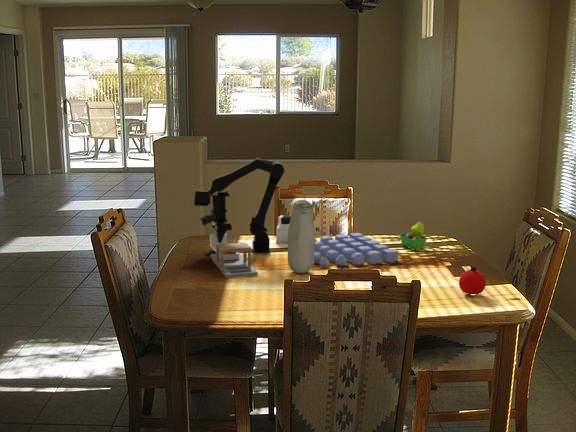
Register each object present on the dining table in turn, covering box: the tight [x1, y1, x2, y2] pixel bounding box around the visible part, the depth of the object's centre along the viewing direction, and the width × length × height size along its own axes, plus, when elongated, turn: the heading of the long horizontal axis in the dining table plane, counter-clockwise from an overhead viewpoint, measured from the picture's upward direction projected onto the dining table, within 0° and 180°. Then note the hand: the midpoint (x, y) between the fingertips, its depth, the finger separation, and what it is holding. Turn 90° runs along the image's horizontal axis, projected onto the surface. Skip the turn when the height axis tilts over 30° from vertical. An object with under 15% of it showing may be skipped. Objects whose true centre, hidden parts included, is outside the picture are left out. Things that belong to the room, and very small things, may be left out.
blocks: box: [313, 232, 399, 268], centre depth 280 cm, size 35×34×5 cm
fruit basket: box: [399, 221, 428, 249], centre depth 293 cm, size 11×9×11 cm
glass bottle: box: [287, 199, 316, 274], centre depth 251 cm, size 10×10×28 cm
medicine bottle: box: [275, 214, 291, 245], centre depth 300 cm, size 7×7×12 cm
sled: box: [209, 233, 239, 260], centre depth 274 cm, size 7×24×5 cm, turn 18°
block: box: [223, 242, 237, 255], centre depth 267 cm, size 5×5×4 cm
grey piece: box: [209, 242, 259, 279], centre depth 260 cm, size 12×30×8 cm, turn 18°
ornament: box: [458, 266, 487, 295], centre depth 228 cm, size 9×9×10 cm
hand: (219, 242), depth 283 cm, fingers closed
